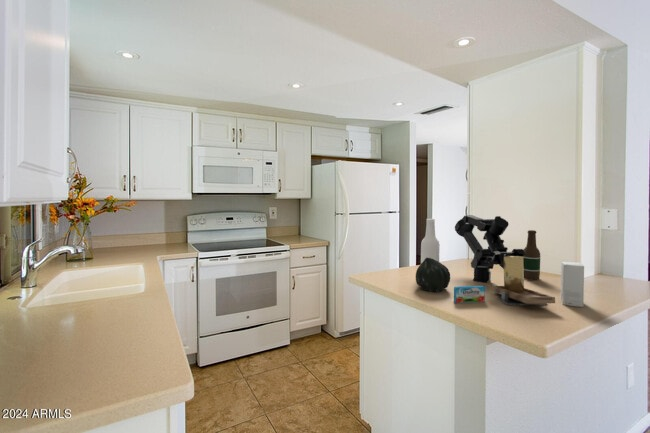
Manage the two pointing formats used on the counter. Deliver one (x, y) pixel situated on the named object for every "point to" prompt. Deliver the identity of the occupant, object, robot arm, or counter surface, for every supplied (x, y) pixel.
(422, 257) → the alcohol
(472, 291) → the yogurt
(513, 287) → the cylinder
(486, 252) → the robot arm
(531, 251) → the beer bottle
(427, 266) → the squash
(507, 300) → the pivot stand
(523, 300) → the brown wooden tray
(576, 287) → the skincare box
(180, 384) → the counter surface
